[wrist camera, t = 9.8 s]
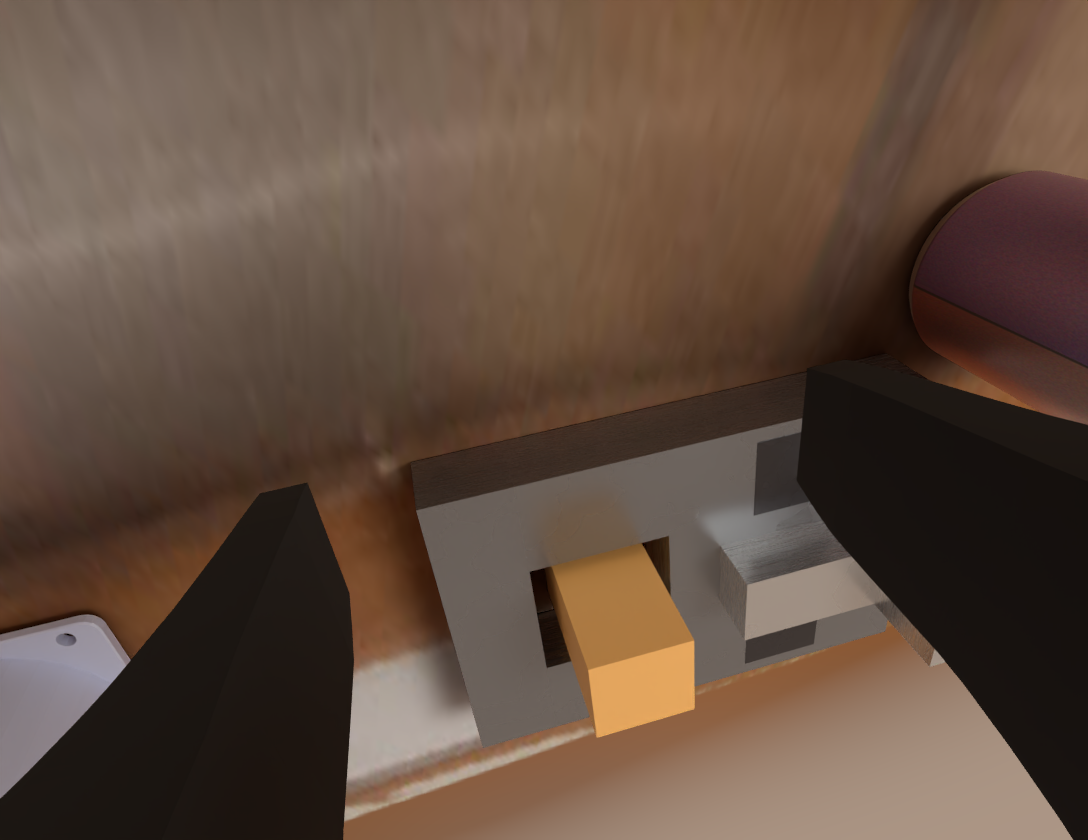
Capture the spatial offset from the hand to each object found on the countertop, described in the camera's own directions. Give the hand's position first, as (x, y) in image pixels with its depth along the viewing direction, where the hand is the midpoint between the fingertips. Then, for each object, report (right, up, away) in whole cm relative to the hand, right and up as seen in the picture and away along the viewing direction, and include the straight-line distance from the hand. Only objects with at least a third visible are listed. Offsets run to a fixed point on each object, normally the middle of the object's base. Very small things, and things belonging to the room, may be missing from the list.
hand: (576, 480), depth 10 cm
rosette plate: (+4, -3, +15) cm, 16 cm away
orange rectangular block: (+1, -4, +14) cm, 15 cm away
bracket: (+8, -4, +13) cm, 16 cm away
